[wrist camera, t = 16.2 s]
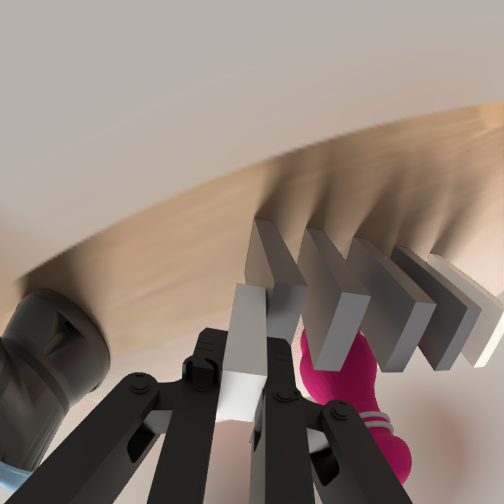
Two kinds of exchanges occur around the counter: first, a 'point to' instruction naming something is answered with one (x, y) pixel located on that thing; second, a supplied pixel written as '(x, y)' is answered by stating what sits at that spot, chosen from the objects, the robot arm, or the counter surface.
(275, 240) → the domino
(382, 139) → the counter surface
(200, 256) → the counter surface
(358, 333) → the pepper mill
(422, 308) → the domino
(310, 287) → the domino
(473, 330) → the white domino
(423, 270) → the domino
